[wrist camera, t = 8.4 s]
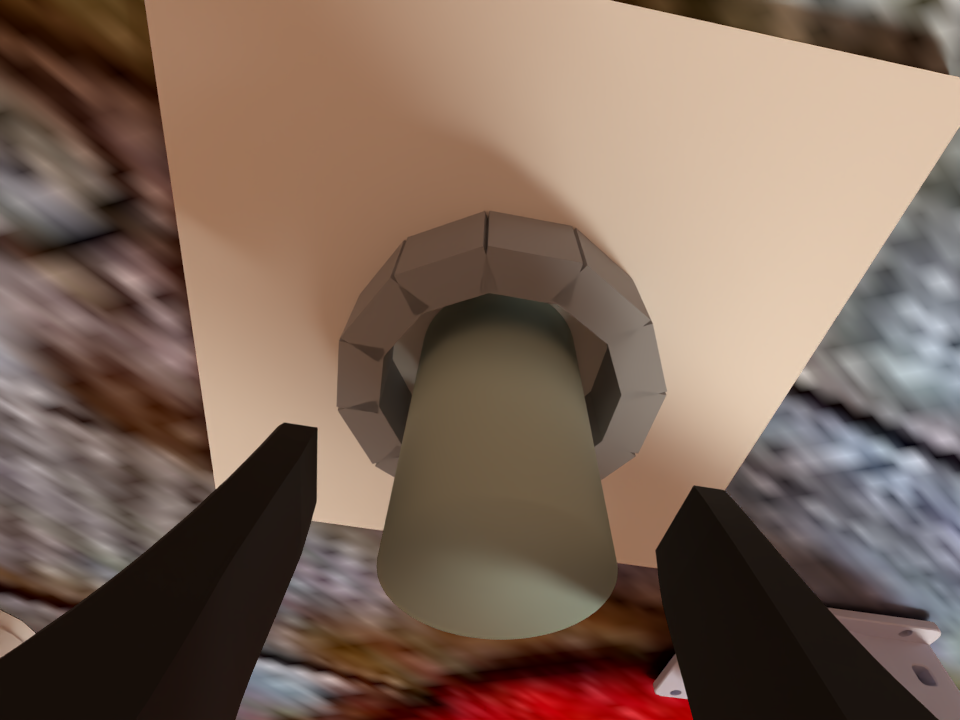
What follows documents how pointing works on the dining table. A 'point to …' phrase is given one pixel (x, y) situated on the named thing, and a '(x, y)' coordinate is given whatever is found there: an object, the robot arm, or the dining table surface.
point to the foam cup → (12, 633)
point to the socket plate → (523, 218)
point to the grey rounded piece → (497, 480)
